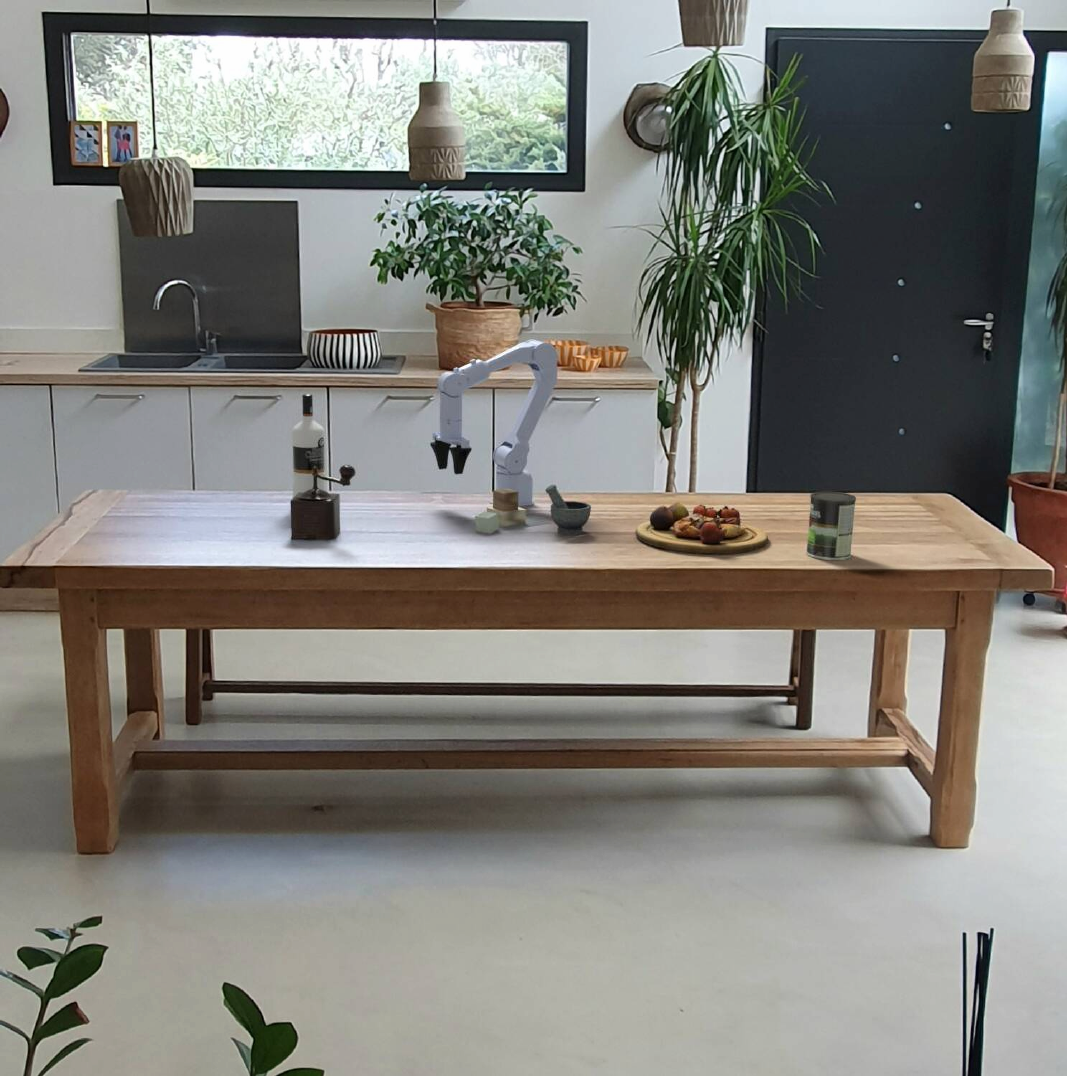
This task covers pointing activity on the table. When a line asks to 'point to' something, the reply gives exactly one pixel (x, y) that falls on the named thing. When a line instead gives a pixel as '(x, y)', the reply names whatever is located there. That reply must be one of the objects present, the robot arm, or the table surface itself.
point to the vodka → (307, 450)
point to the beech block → (509, 516)
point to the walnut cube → (505, 499)
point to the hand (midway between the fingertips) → (450, 471)
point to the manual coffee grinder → (318, 509)
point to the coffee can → (830, 525)
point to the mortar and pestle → (568, 513)
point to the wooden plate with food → (700, 530)
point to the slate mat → (529, 523)
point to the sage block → (487, 522)
